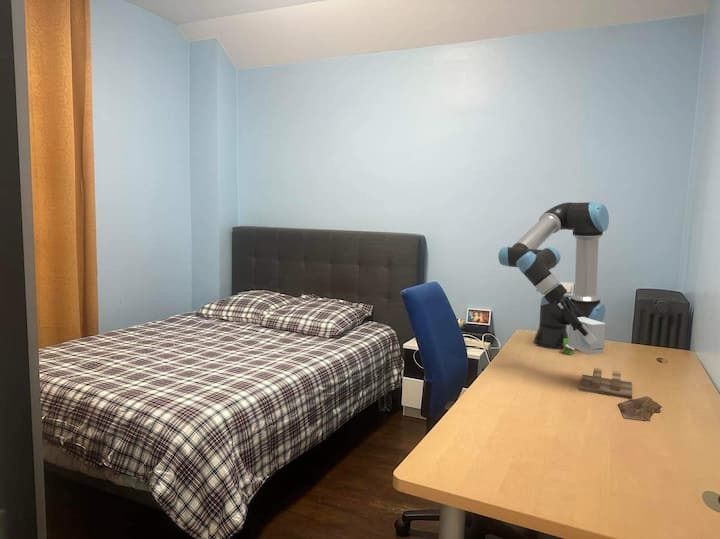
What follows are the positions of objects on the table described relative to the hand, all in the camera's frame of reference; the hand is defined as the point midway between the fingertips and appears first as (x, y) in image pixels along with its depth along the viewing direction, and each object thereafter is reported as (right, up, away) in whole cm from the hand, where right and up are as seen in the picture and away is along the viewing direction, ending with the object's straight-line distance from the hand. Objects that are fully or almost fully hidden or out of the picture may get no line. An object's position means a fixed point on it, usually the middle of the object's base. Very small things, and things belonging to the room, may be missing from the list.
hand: (595, 338), depth 175 cm
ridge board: (+4, -17, +1) cm, 18 cm away
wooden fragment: (+6, -20, -17) cm, 27 cm away
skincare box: (-3, -4, +2) cm, 5 cm away
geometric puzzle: (+8, -12, +44) cm, 46 cm away
